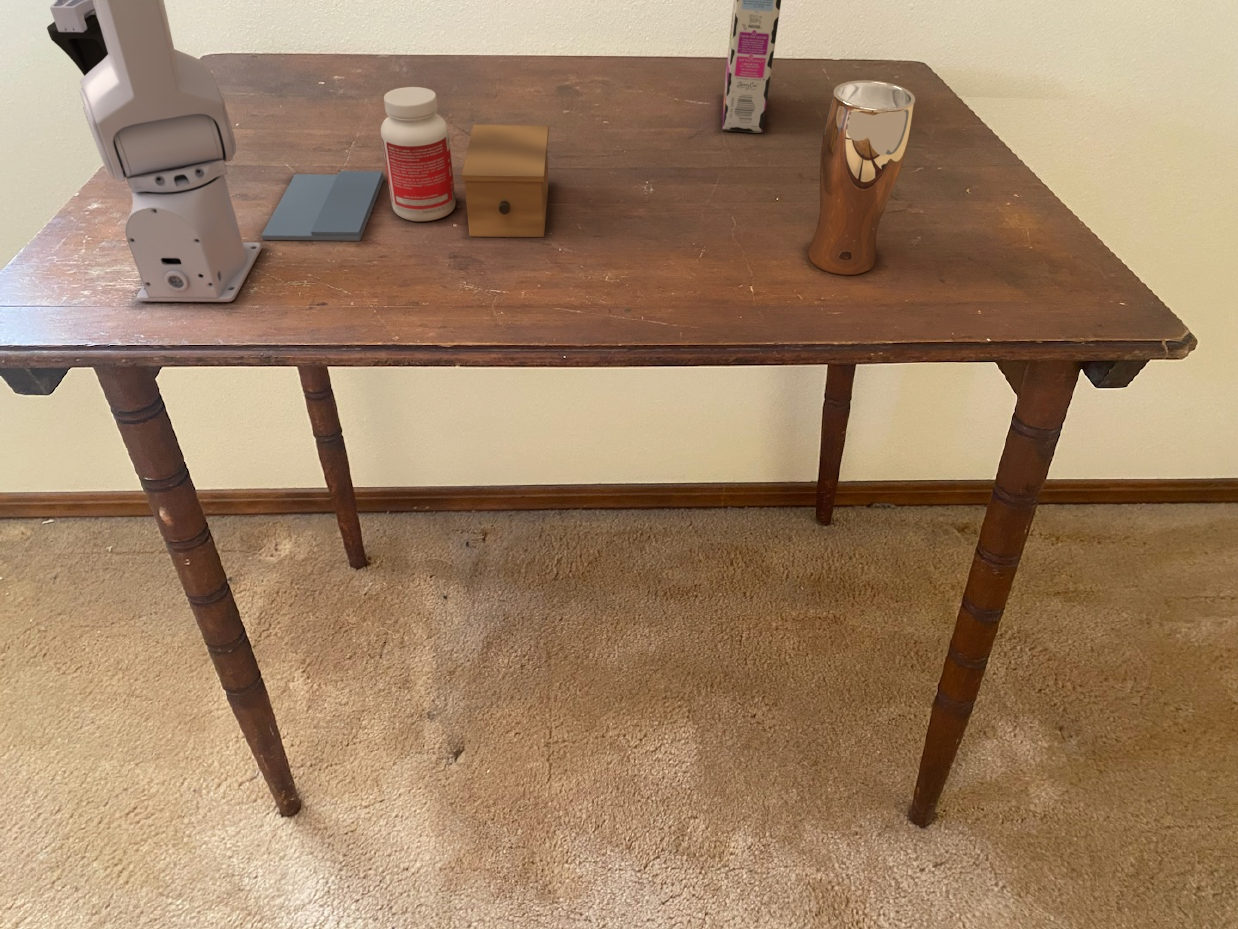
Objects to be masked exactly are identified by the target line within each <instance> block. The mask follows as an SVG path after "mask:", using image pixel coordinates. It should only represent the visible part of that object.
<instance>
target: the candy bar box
mask: <svg viewBox="0 0 1238 929" xmlns="http://www.w3.org/2000/svg"><path fill="white" fill-rule="evenodd" d="M781 5H782V0H733V4H732V12H731V20H730V29H729V30H730V32H729V40H728V48H727V60H726V67H725V68H726V69H725V79H724V88H723V102H722V103H723V104H722V106H723V107H722V109H723V110H722V130H723V131H727V132H738V133H739V132H740V133H751V134H752V133H753V134H762V133H763V132H764V125H765V118H766V113H767V111H766V110H767V103H768V99H769V98H768V97H769V90H770V83H771V77H772V69H773V64H774V63H773V61H774V55H775V48H776V41H777V35H778V26H779V21H780V20H779V19H780V14H781V13H780V12H781Z"/></svg>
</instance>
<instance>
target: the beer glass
mask: <svg viewBox="0 0 1238 929" xmlns="http://www.w3.org/2000/svg"><path fill="white" fill-rule="evenodd" d="M915 102H916V96H915V95H914V94H913V93H912V92H911V91H910V90H908V89H907V88H905V87H902V86H900V85H897V84H894V83H891V82H886V81H880V80H870V79H869V80H868V79H867V80H866V79H865V80H862V79H861V80H851V81H846V82H842V83H840V84H838V85H837V86H836V87H834V89H833V93H832V99H831V103H830V107H829V110H828V114H827V118H826V122H825V127H824V131H823V136H822V143H821V150H820V160H819V161H820V162H819V213H818V214H819V216H818V222H817V226H816V229H815V232H814V235H813V237H812V240H811V243H810V246H809V249H808V253H807V254H808V259H809V261H810V262H811V263H812V264H813V265H814V266H815V267H816V268H819V269H820V270H822V271H825V272H827V273H831V274H834V275H835V274H836V275H841V276H855V275H861V274H864V273H866V272H868V271H870V270H871V269H873V267H874V265H875V263H876V259H877V258H876V257H877V256H876V255H877V236H878V229H879V225H880V222H881V219H882V216H883V213H884V212H885V209H886V207H887V203H888V202H889V200H890V197H891V195H892V192H893V190H894V188H895V186H896V183H897V181H898V178H899V176H900V172H901V169H902V167H903V164H904V160H905V156H906V153H907V149H908V144H909V138H910V133H911V128H912V120H913V112H914V106H915Z"/></svg>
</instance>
